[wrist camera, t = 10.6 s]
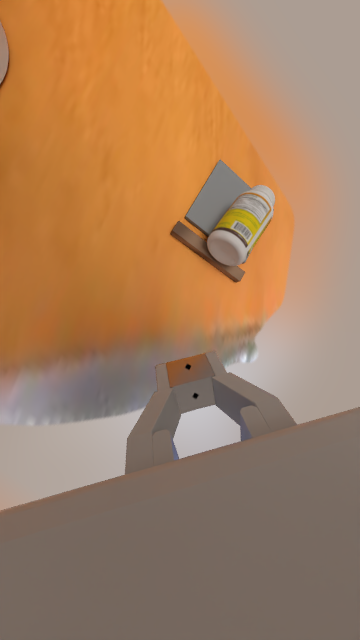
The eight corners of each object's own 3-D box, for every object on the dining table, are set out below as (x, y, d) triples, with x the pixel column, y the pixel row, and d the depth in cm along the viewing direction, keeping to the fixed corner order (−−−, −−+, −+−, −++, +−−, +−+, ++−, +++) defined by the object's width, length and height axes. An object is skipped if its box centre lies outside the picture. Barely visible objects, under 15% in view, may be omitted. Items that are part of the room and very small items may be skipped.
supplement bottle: (213, 266, 29) (247, 218, 31) (248, 270, 25) (284, 216, 28) (198, 234, 25) (238, 182, 28) (236, 234, 21) (279, 174, 24)
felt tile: (184, 218, 28) (185, 215, 27) (218, 162, 29) (220, 159, 28) (242, 263, 31) (244, 262, 30) (271, 211, 32) (273, 209, 31)
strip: (170, 233, 27) (172, 230, 26) (176, 224, 28) (178, 220, 26) (235, 282, 31) (240, 281, 29) (240, 273, 31) (245, 272, 30)
